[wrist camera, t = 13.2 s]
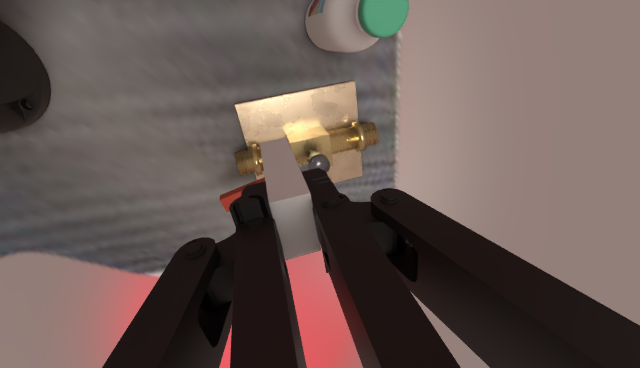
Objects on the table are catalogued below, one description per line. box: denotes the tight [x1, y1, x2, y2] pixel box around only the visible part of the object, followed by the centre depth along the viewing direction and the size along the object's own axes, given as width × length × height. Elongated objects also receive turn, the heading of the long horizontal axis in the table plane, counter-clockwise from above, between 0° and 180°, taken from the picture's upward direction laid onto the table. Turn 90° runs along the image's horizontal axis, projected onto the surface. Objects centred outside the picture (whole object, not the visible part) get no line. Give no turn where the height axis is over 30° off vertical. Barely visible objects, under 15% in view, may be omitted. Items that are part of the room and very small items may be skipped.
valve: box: [235, 80, 378, 183], centre depth 46 cm, size 24×18×10 cm
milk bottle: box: [305, 0, 409, 52], centre depth 34 cm, size 8×8×20 cm
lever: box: [220, 152, 330, 212], centre depth 41 cm, size 17×3×2 cm, turn 108°
